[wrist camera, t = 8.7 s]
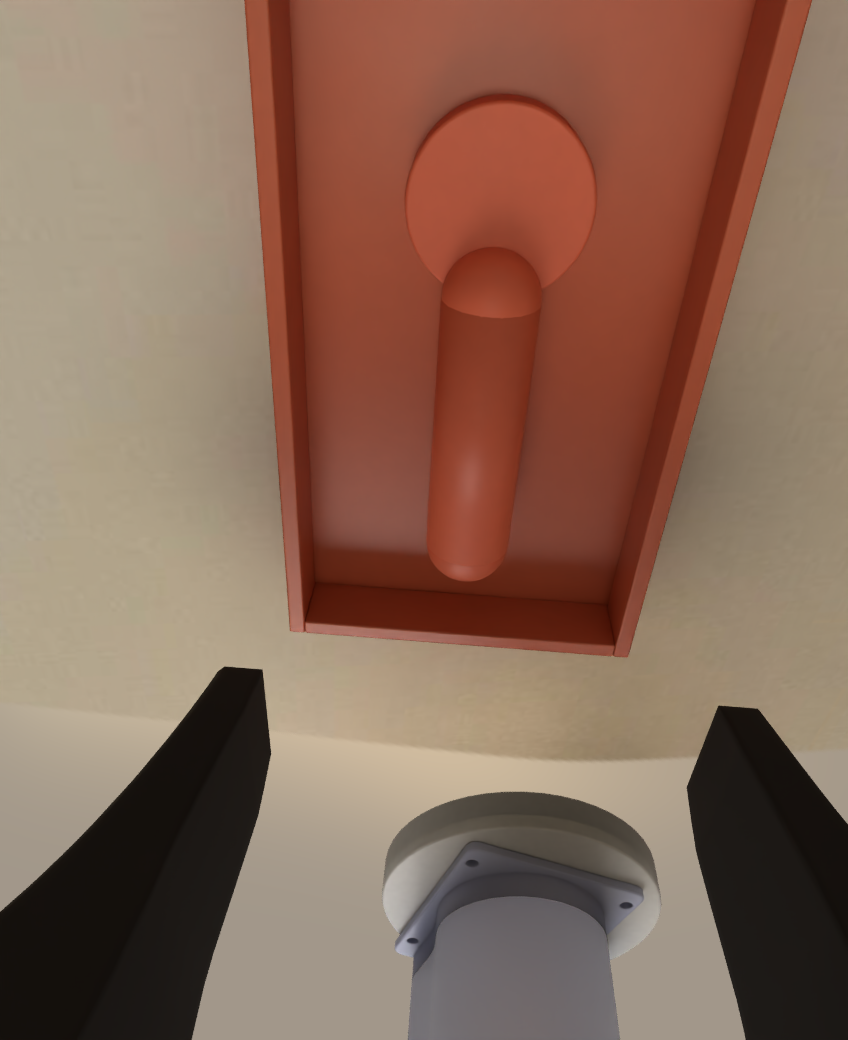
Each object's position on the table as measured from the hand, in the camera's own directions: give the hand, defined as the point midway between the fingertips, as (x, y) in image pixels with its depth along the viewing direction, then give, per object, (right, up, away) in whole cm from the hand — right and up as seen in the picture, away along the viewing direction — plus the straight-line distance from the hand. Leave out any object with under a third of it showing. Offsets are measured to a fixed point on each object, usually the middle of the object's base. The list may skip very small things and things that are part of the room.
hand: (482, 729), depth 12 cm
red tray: (0, +7, +5) cm, 9 cm away
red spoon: (0, +7, +5) cm, 9 cm away
